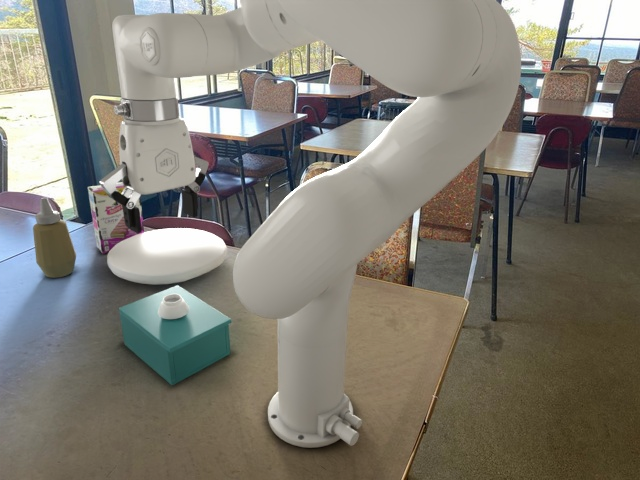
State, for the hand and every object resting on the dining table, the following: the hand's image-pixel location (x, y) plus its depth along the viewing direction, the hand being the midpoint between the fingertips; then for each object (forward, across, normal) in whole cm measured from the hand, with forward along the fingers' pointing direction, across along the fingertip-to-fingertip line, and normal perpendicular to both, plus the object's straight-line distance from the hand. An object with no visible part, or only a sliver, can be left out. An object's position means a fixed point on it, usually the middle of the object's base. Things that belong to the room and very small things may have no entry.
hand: (163, 222), depth 75 cm
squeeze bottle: (+24, -3, +44) cm, 51 cm away
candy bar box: (+24, +14, +48) cm, 56 cm away
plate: (+24, +17, +30) cm, 43 cm away
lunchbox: (+24, 0, 0) cm, 24 cm away
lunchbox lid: (+17, 0, 0) cm, 17 cm away
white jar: (+17, 0, 0) cm, 17 cm away
